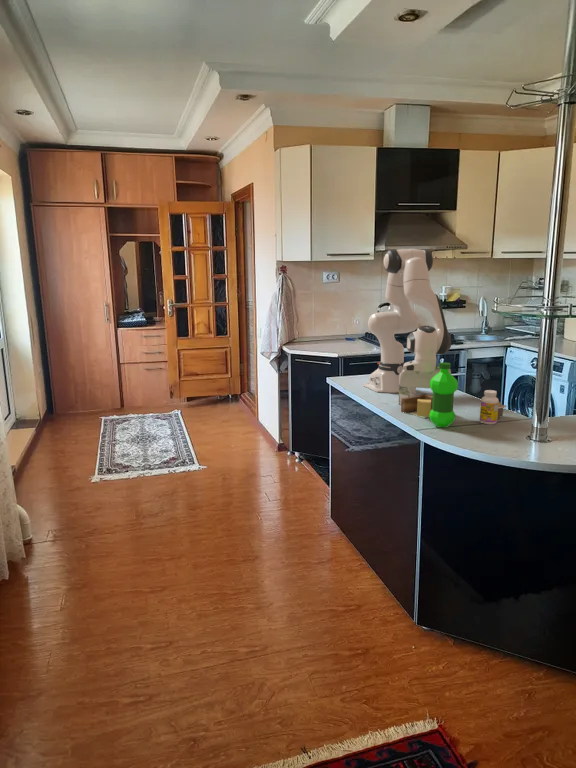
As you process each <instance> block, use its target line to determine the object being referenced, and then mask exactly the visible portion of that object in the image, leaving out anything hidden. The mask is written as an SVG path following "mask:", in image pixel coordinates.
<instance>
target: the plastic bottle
mask: <svg viewBox="0 0 576 768" xmlns="http://www.w3.org/2000/svg"><path fill="white" fill-rule="evenodd" d="M438 366H439V368H440V372H439V373H438V374H437V375H435V376H434V377H433V378H432V379H431V381H430V388H429V389H430V390H431V391H432V396H433V401H432V410H431V412H430V414H429V417H428V418H429V420H430V421H431V423H432V424H433V425H434V426H435V425H436V426H435V427H437V426H438V428H448V427H449V426H450V425H451V424H453V423H454V421H455V419H456V414H455V412H454V401H455V399H454V398H455V397H454V396H455V392H456V391H458V388H459V382H458V380H457V378H455V377H454V375H452V373H451V374H450V373H449V369H450V370H451V366H452V365H451V363H450V362H444V361H443V362H438ZM447 426H448V427H447Z"/></svg>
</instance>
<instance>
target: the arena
mask: <svg viewBox="0 0 576 768" xmlns="http://www.w3.org/2000/svg"><path fill="white" fill-rule="evenodd" d="M418 399H424V400H431V410H432V401H433V395H430V394H426V393H421V394H416V396H414V398H413V397H406V398H401V405H400V412H401V413H403V412H404V414H405V412H406V413H411V412H416V411H417V401H418ZM415 410H416V411H415ZM410 411H411V412H410Z"/></svg>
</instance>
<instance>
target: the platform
mask: <svg viewBox="0 0 576 768" xmlns="http://www.w3.org/2000/svg"><path fill="white" fill-rule="evenodd" d="M507 407H508V405H505V404H502V403H501V401H499V404H498V416H497V418H501V417H500V416H502V417H503V416H504V408H507Z"/></svg>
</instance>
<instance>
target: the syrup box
mask: <svg viewBox="0 0 576 768" xmlns="http://www.w3.org/2000/svg"><path fill="white" fill-rule="evenodd" d="M400 376H401V374H399V392H398V405H399V406H401V398H406V397H410V393H409V391H408V387H401V386H400ZM416 391H417V388H415V387H411V392H412V393H414V396H416V395H417V393H416Z"/></svg>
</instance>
